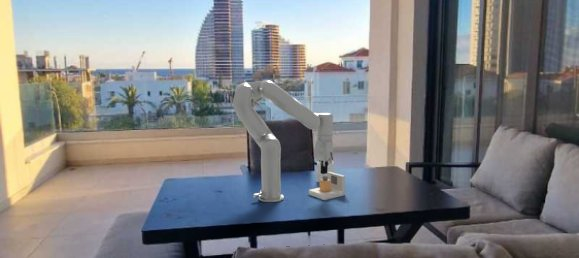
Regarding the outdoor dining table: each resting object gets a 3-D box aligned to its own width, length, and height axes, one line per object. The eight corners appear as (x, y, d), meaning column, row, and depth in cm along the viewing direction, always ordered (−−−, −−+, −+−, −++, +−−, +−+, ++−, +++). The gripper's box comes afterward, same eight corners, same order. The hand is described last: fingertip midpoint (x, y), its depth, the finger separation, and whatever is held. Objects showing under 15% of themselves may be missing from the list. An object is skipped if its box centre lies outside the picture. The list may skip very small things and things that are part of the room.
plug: (324, 196, 223) (324, 177, 221) (319, 195, 226) (319, 176, 225) (330, 195, 225) (330, 176, 224) (325, 193, 228) (325, 174, 227)
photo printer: (333, 180, 254) (333, 159, 253) (335, 182, 250) (335, 160, 248) (315, 181, 253) (315, 160, 251) (317, 183, 249) (317, 161, 247)
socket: (323, 200, 217) (323, 180, 216) (308, 194, 227) (308, 175, 226) (344, 195, 225) (345, 175, 224) (329, 189, 235) (329, 171, 234)
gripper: (309, 136, 225) (309, 171, 228) (328, 140, 213) (327, 177, 216) (321, 135, 229) (320, 169, 232) (340, 139, 217) (339, 175, 220)
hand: (323, 173), depth 224 cm, fingers closed
